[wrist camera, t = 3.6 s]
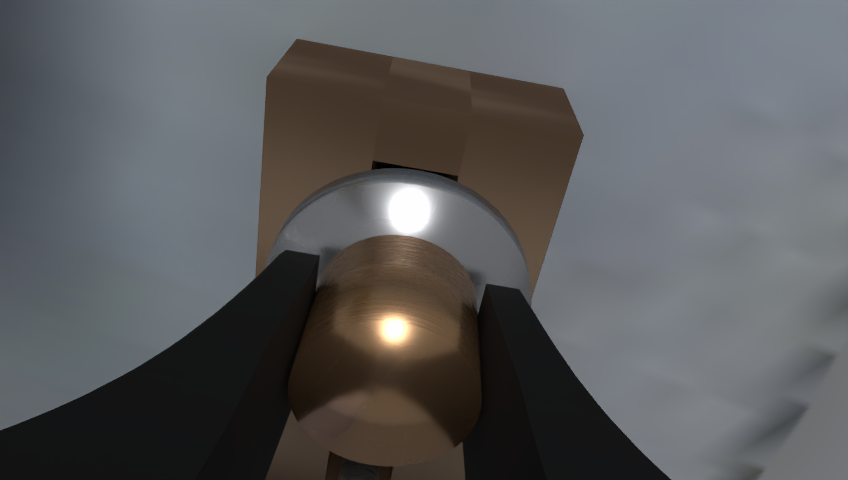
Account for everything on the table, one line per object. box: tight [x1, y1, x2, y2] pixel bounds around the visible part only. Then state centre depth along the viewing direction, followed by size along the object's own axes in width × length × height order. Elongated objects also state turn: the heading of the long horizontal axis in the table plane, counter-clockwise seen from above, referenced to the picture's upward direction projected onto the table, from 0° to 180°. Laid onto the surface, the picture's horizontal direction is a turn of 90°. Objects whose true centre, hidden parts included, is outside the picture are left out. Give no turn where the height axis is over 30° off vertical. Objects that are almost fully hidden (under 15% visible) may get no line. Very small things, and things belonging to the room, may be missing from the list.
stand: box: [256, 39, 584, 480], centre depth 20 cm, size 14×7×3 cm, turn 170°
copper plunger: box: [265, 168, 532, 467], centre depth 13 cm, size 5×5×6 cm
